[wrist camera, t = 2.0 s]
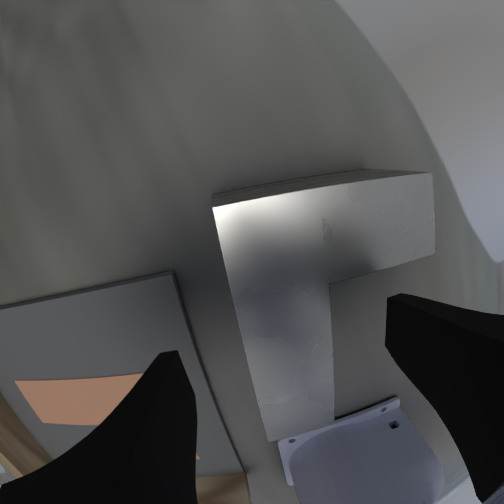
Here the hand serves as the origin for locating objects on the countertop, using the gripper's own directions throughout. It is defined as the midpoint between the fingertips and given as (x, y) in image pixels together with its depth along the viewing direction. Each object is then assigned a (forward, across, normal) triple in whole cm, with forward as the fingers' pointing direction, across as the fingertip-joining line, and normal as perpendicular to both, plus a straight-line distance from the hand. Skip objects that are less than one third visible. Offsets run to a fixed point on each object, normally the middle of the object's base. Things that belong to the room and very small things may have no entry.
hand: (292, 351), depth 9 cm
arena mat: (+5, +13, +7) cm, 16 cm away
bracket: (+5, -2, 0) cm, 6 cm away
